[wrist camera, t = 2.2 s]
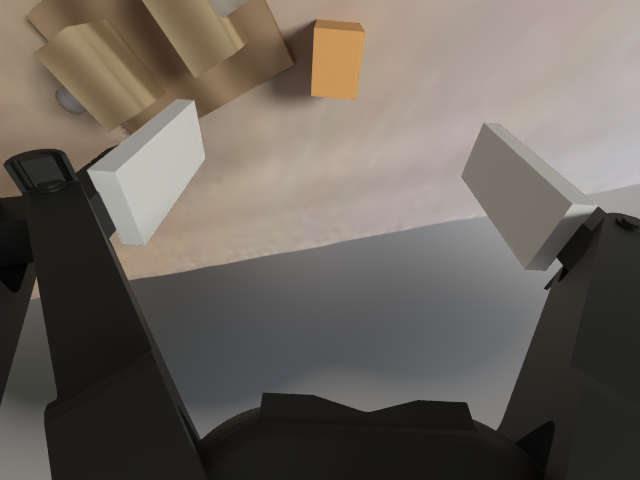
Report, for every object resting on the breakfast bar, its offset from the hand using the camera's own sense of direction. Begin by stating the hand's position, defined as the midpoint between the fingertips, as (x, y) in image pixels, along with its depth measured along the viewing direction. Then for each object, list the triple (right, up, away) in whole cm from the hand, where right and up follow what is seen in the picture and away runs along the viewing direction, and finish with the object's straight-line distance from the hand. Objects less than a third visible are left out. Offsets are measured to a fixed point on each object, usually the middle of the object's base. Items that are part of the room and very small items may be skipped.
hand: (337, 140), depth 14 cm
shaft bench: (-15, +15, +15) cm, 26 cm away
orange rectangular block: (+1, +14, +15) cm, 21 cm away
